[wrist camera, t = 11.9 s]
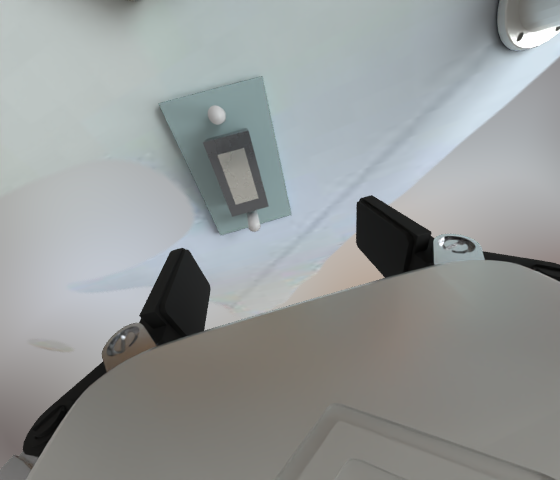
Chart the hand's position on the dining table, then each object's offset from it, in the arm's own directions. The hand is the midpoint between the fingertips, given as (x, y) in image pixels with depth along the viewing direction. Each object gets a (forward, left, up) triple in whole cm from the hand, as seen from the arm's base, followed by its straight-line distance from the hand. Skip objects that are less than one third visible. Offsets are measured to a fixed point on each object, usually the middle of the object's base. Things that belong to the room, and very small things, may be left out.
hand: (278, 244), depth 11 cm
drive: (+2, 0, -20) cm, 20 cm away
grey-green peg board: (+2, 0, -21) cm, 21 cm away
